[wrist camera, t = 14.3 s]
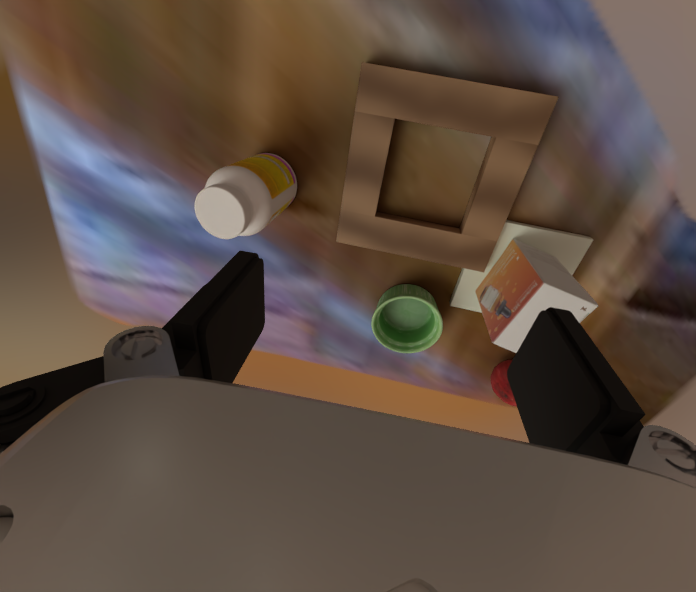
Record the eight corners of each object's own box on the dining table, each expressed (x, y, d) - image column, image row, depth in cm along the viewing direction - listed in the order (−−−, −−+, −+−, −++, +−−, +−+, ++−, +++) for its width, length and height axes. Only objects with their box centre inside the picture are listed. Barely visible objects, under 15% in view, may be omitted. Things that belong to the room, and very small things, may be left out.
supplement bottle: (247, 144, 38) (181, 163, 27) (302, 160, 38) (259, 185, 27) (243, 201, 41) (184, 237, 30) (294, 215, 41) (253, 257, 30)
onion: (481, 374, 49) (493, 418, 42) (492, 345, 46) (506, 387, 39) (521, 380, 49) (540, 426, 42) (535, 351, 46) (557, 395, 39)
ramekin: (453, 298, 44) (457, 317, 40) (417, 343, 48) (418, 363, 45) (394, 268, 43) (393, 284, 39) (363, 316, 47) (359, 335, 44)
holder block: (364, 64, 32) (361, 62, 30) (550, 96, 31) (558, 96, 29) (339, 235, 41) (336, 241, 40) (480, 265, 40) (483, 272, 39)
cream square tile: (482, 215, 37) (484, 217, 37) (589, 236, 37) (593, 239, 36) (449, 301, 44) (450, 305, 43) (539, 321, 43) (542, 325, 42)
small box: (512, 236, 37) (545, 279, 28) (556, 256, 37) (602, 305, 29) (473, 291, 41) (490, 344, 32) (512, 308, 42) (540, 365, 33)
